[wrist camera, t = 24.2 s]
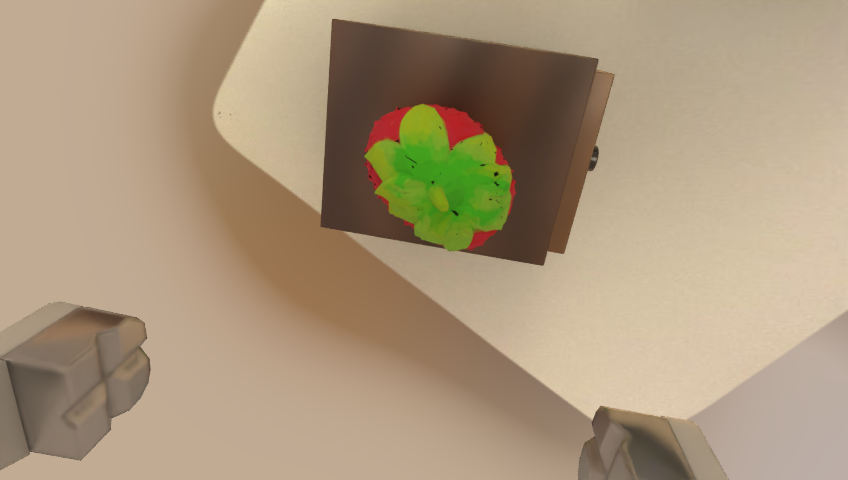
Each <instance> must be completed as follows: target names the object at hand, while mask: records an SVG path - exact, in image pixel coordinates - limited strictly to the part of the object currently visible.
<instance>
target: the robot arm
mask: <svg viewBox="0 0 848 480" xmlns="http://www.w3.org/2000/svg"><path fill="white" fill-rule="evenodd" d="M146 339H147V335H146V328H145V323H144V322H143V321H141V320H140V319H139V318H137V317H132V316H127V315H123V314H118V313H113V312H108V311H104V310H99V309H94V308H90V307H83V306H79V305H74V304H69V303H64V302H54V303H48V304H47V305H45V306H44V307H42V308H40V309H38V310H37V311H35V312H33V313H32V314H30V315H28V316H27V317H25V318H23V319H22V320H20V321H18V322H17V323H15V324H13V325H12V326H10V327H8V328H7V329H5V330H3V331H2V332H0V470H2V469H3V468H5V467H7V466H9V465H11V464H13V463H15V462H17V461H19V460H20V459H22V458H24V457H26V456H28V455H29V454H30V452H35V453H41V454H46V455H52V456H58V457H63V458H69V459H75V460H80V461H81V460H82V459H83V458H84V457H85V456H86V455H87V454H88V453H89V452H90V451H91V449H93V448H94V447H95V446H96V444H97V443H98V442H99V441H100V440H101V439H102V438H103V437H104V436H105V435H106V434H107V433H108V432H109V431H110V430H111V419H112V418H113V417H116V416H118V415H120V414H122V413H125V412H127V411H129V410H130V409H131V408H132V407H133V406H134V405H135V404H136V402H137V401H138V400H139V399H140V398H141V396H142V394H143V392H144V390H145V388H146V386H147V384H148V381H149V375H150V359H149V357H148V356H147V355H146V354H145V352H144V351H143V350H142V348H141V347H140V346H141V345H142V344H143V343H144V341H145V340H146ZM592 426H593V430H594V434H595V437H593V438H591V439H590V440H588V441H587V442H585V443H584V446H583V449H582V452H581V456H580V460H579V470H578V480H729V479H728V477H727V475H726V474H725V472H724V470H723V468H722V467H721V465H720V463H719V461H718V459H717V458H716V456H715V454H714V452H713V451H712V449H711V447H710V445H709V444H708V442H707V440H706V438H705V436H704V435H703V433H702V431H701V429H700V428H699V426H698V425H696V424H695V423H694V422H693V421H689V420H683V419H677V418H671V417H665V416H661V417H659V416H654V415H648V414H643V413H638V412H632V411H627V410H621V409H616V408H610V407H605V406H600V408H599V409H598V410H597V411H596V413H595V416H594V419H593V421H592Z"/></svg>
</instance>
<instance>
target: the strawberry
mask: <svg viewBox="0 0 848 480" xmlns="http://www.w3.org/2000/svg"><path fill="white" fill-rule="evenodd" d="M365 152H366V155H365V156H364V157H365V158H366V159H367V162H366V163H365V164H364V165H365V166H366V167H367V168H368V172H369V173H368V178H369V180H370V181H373V186H374V189H375V190H376V191H375V194H378V196H377V198H379V199H382V201H383V202H384V203H385V204H386V205H387V206H388V211H389V213H390V214H393V215H395V217H399V218H401V219H403V220H404V224H405V226H407V225H410V226H411V227H412V228H413V229H414V234H415V236H417V237H420V238H421V240H426V241H428V242H431V243H435V244H438V245H443V246H444V247H445V248H446V249H447V250H448V251H457V250H461V249H470V250H471V251H472V250H473V249H474V248H475V247H478V246H482V245H483V243H484V242H485V241H486V240H487V239H488V238H489V237H490V236H492V235H494V233H496V231H497V230H502V227H503V224H504V223H505V222H506V219H507V216H508V215H509V214H510V212H511V207H512V202H513V198H514V195H515V194H516V191H515V189H514V186H515V183H516V181H515V180H513V178H512V173H513V171H514V170H512V169H510V167H509V165H508V162H507V159H505V158H504V157H503V155H502V153H501V148H499V147H498V146H496V145H495V144H494V142H493V139H492V136H490V135H488V133H485V131H484V130H483V125H481V124H480V122H476V121H474V120H472V119H471V118H470V117H469V116H468V114H467V112H460V111H458V110H456V109H455V108H453V107H452V108H447V107H441V106H439V105H437V104H433V105H428V104H427V105H425V104H420V105H417V106H414V107H408V106H407V107H405V108H398V107H396V109H395V111H393V112H390V113H388V114H386V115H384V116H382V117H381V118H380V120H379V121H375V122H374V127H373V130H372V132H371V133H370V136H369V140H368V144H367V147H366V148H365Z"/></svg>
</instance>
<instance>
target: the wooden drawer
mask: <svg viewBox="0 0 848 480" xmlns="http://www.w3.org/2000/svg"><path fill="white" fill-rule="evenodd" d="M613 79H614V74H612V73H608V72H605V71H601V70H597V69H596V71H595V75H594V79H593V83H592V86H591V90H590V94H589V98H588V101H587V105H586V109H585V113H584V116H583V120H582V124H581V128H580V131H579V135H578V139H577V143H576V146H575V150H574V154H573V158H572V161H571V165H570V169H569V173H568V176H567V180H566V184H565V188H564V191H563V195H562V199H561V202H560V206H559V210H558V214H557V217H556V221H555V225H554V229H553V232H552V236H551V240H550V244H549V247H548V251H550V252H555V253H561V254H564V252H565V249H566V245H567V242H568V238H569V235H570V231H571V228H572V224H573V221H574V217H575V213H576V210H577V206H578V203H579V199H580V196H581V192H582V189H583V185H584V182H585V178H586V175H587V171H593V169H594V168H595V166H596V163H597V160H598V154H599V149H598V147H597V146H595V143H596V139H597V136H598V132H599V129H600V125H601V122H602V118H603V115H604V111H605V108H606V104H607V101H608V97H609V93H610V90H611V86H612V83H613Z"/></svg>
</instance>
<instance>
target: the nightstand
mask: <svg viewBox="0 0 848 480" xmlns="http://www.w3.org/2000/svg"><path fill="white" fill-rule="evenodd" d="M597 64H598V59H596V58H590V57H584V56H579V55H573V54H567V53H561V52H554V51H547V50H541V49H534V48H528V47H521V46H514V45H508V44H501V43H495V42H488V41H481V40H475V39H468V38H462V37H455V36H448V35H442V34H435V33H429V32H422V31H415V30H409V29H402V28H396V27H389V26H382V25H376V24H369V23H361V22H354V21H346V20H339V19H332V31H331V49H330V67H329V84H328V102H327V120H326V138H325V156H324V174H323V192H322V210H321V227H325V228H330V229H336V230H342V231H347V232H353V233H359V234H365V235H370V236H376V237H382V238H387V239H393V240H399V241H404V242H410V243H416V244H422V245H427V246H433V247H439V248H444V249H446V248H445V247H444V246H443V245H438V244H435V243H431V242H428V241H426V240H421V238H420V237H417V236H415V234H414V229H413V228H412V227H411V226H410V225H407V226H405V224H404V220H403V219H401V218H399V217H395V215H393V214H390V213H389V211H388V206H387V205H386V204H385V203H384V202H383V201H382V199H379V198H377V196H378V194H375V191H376V190H375V189H374V186H373V181H370V180H369V178H368V173H369V172H368V168H367V167H366V166H365V165H364V164H365V163H366V162H367V159H366V158H365V157H364V156H365V155H366V152H365V148H366V147H367V144H368V140H369V136H370V133H371V132H372V130H373V127H374V122H375V121H379V120H380V118H381V117H382V116H384V115H386V114H388V113H390V112H393V111H395V109H396V107H398V108H405V107H407V106H408V107H414V106H417V105H420V104H425V105H427V104H428V105H433V104H437V105H439V106H441V107H447V108H452V107H453V108H455V109H456V110H458V111H460V112H467V114H468V116H469V117H470V118H471V119H472V120H474V121H476V122H480V124H481V125H483V130H484V131H485V133H488V135H490V136H492V139H493V142H494V144H495V145H496V146H498V147H499V148H501V153H502V155H503V157H504V158H505V159H507V162H508V165H509V167H510V169H512V170H514V171H513V173H512V178H513V180H515V181H516V183H515V186H514V189H515V191H516V194H515V195H514V198H513V202H512V207H511V212H510V214H509V215H508V216H507V219H506V222H505V223H504V224H503V227H502V230H497V231H496V233H494V235H492V236H490V237H489V238H488V239H487V240H486V241H485V242H484V243H483V245H482V246H478V247H475V248H474V249H473V250H472V251H471V250H470V249H461V250H457V251H461V252H467V253H473V254H479V255H484V256H490V257H496V258H501V259H507V260H513V261H518V262H524V263H530V264H536V265H541V266H543V265H544V262H545V259H546V255H547V251H548V247H549V244H550V240H551V236H552V232H553V229H554V225H555V221H556V217H557V214H558V210H559V206H560V202H561V199H562V195H563V191H564V188H565V184H566V180H567V176H568V173H569V169H570V165H571V161H572V158H573V154H574V150H575V146H576V143H577V139H578V135H579V131H580V128H581V124H582V120H583V116H584V113H585V109H586V105H587V101H588V98H589V94H590V90H591V86H592V83H593V79H594V75H595V71H596V68H597Z"/></svg>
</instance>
